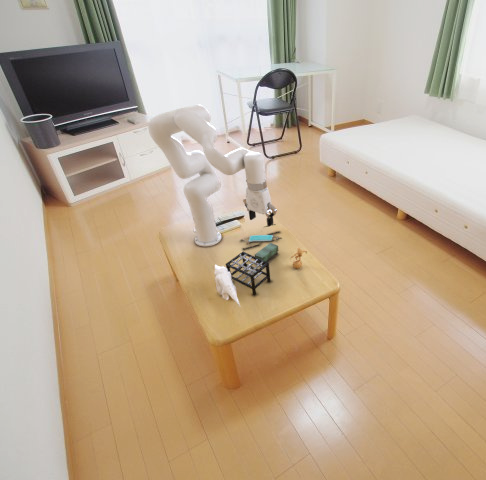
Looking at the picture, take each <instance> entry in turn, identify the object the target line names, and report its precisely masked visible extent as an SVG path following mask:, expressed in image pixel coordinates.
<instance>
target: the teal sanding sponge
mask: <svg viewBox="0 0 486 480" xmlns="http://www.w3.org/2000/svg"><path fill="white" fill-rule="evenodd" d="M278 255H279V245H277V244H275V243H273V242H269V243H268V244H266V245H265V246H263V248H261V249H259V250H258V251H257V252H256V253H254V257H257V258H259V259H261V260H263V261H266V262H268V263H270V261H272V260H273V259H274V258H276V257H277V256H278ZM256 263H258V264H260V263H261V262H259V261H257V262H256ZM262 265H265V264H262Z"/></svg>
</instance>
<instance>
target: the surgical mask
mask: <svg viewBox="0 0 486 480" xmlns="http://www.w3.org/2000/svg"><path fill="white" fill-rule="evenodd" d="M273 226H276V223H273V224H272V225H271V226H270V227H273ZM265 228H268V226H267V225H265ZM263 229H264V228H262V230H263ZM262 230H261V231H262ZM274 234H275V235H274ZM276 234H280V231H276V232H271V233H268V234H256V235H255V234H254V235H249V237H248V236H245V237H244V238H242V239H240V242H242V241H245V238H248V240H247V242H248V243H246V245H249V244H252V243H255V242H273V241H277V240H282V239H283V238H282V237H278V236H276ZM274 237H276V238H275V239H273V238H274ZM259 246H260V244H257V245H256V244H255V245H253V246H249V247H245V248H242V250H247V249H251V248H256V247H259Z"/></svg>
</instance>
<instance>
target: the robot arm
mask: <svg viewBox="0 0 486 480" xmlns="http://www.w3.org/2000/svg"><path fill="white" fill-rule="evenodd" d="M211 120H212V116H211V113H210V112H209V110H208V109H207V108H206V107H205V106H204V105H201V104H193V105H190V106H185V107H180V108H176V109H174V110H170V111H167V112H163V113H162V112H161V113H159V114H157V115H155V116H153V117H152V118H150V119H149V122H148V124H147V125H148V126H147V129H148V132H149V135H150V137H151V139H152V141H153V142H154V143H155V145H157V146H158V148H159V149H160V150H161V151H162V153H163V155H164V157H165V158H166V159H167V161H168V163H169V164H170V166H171V168H172V169H173V171H174V172H175V174H176V175H177V177H178V178H180V179H182V180H186V179H190V178H191V177H194V176H196V175H199V176H197V177H195V178H193V179H191V180H190V181H187V183H186V184H185V185H184V186H183V194H184V196H185V198H186V201H187V203H188V207H189V209H190V213H191V217H192V221H193V224H194V225H193V226H194V229H193V230H192V232H193V233H195V237H194V243H195V244H196V245H197V246H199V247H212V246H214V245H215V246H216V244H218V243H219V242H221V240H222V234H221V232H219V231H218V228H217V223H216V219H215V214H214V208H213V206H212V205H213V204H211V202H210V201H209V200H208V197H210V196H211V195H213V194H214V193H216V192H218V191H219V190H220V189H221V186H222V184H221V180H220V177H219V175H218V173H217V172H216V170H218V171H219V172H220V173H222V174H224V175H226V176H234V175H235V174H236V173H238V172H240V171H242V170H244V172H245V182H246V185H247V186H246V188H245V198H243V199H242V201H243V203H244V206H245V208H246V210H247V212H248V217H249V220H250V221H252V220H255V218H256V217H257V215H256V213H258V214H261V215H265V217H266V226H268V227H272V226H273V225H272V224H274V216H276V214H277V212H278V209H277V208H276V207H275V206H274V205H273V204H272V198H271V194H270V190H269V188H268V184H267V175H266V165H265V164H266V163H265V158H264V155H263V153H261V152H257V151H252V150H249V149H247V148H244V147H239V148H237V149H235V150H232V151H230V152H228V153H226V154H224V153H222V152H221V151H219V149H217V148H216V147H215V143H216V142H217V139H218V136H219V132H218V130H217V128H215V127H214V126H213V125H211V124H210V122H211ZM181 132H184V133H185V134H186V135H187V136H189V137H190V138H191V139H192V140H194V141H195V142H197V143H198V144H199V145H200V146H201V147H202V150H203V152H202V151H201V150H197V149H195V150H191V151H189V152H188V151H187V149H186V148H185V146H184V144H182V142H181V141H180V140H178V139H177V138H176V137H174V136H173V135H175V134H177V133H181ZM271 225H272V226H271ZM268 227H267V228H268Z"/></svg>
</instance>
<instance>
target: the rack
mask: <svg viewBox="0 0 486 480" xmlns="http://www.w3.org/2000/svg"><path fill="white" fill-rule="evenodd" d="M247 257H248V258H247ZM241 261H242V262H241ZM257 261H259V262H261V263H260V264H258V263H256V262H257ZM240 262H241V263H240ZM248 262H249V264H248ZM262 264H265V265H262ZM236 265H237V267H236ZM253 265H256V266H255V267H254V266H253ZM225 267H226V268H227V269H228V272H231V278H232V281H235V282H237V283H239V284H241V285H243V286H244V287H247V288H249V289H251V293H252V296H254V297H255V296H256V295H257V288H258V287H260V286H261V284H263V283H264V282H265V281H267V283H271V282H272V281H271V271H270V270H271V269H270V262H266V261H263V260H261V259H259V258H257V257H255V255H252V254H250V253H248V252H245V251H241V252H240V253H239V254H237V255H236V256H234V257H233V258H232V259H230V260H229V261H228V262H226V263H225ZM231 269H232V270H233V271H231ZM263 270H265V271H263ZM236 273H240V274H239V275H237V277H235V276H234V275H235V274H236ZM244 275H245V277H244V278H243V279H240V278H241V277H242V276H244ZM262 275H264V277H263V278H262V279H261V280H259V282H257V283H256V282H255V280H256V279H257V278H258V277H260V276H262ZM247 279H250V280H249V281H248V282H245V281H246V280H247Z"/></svg>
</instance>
